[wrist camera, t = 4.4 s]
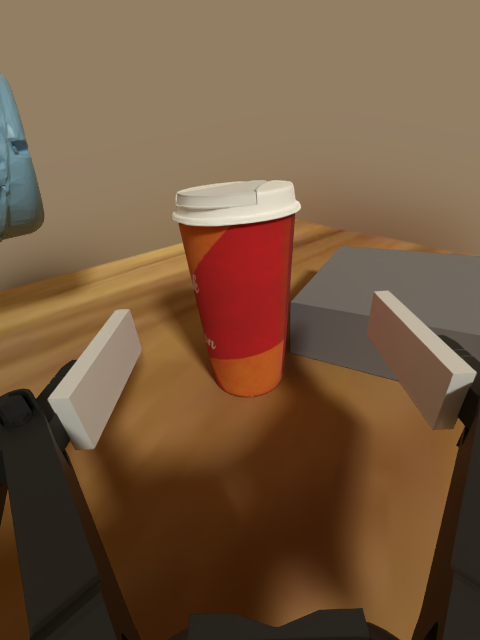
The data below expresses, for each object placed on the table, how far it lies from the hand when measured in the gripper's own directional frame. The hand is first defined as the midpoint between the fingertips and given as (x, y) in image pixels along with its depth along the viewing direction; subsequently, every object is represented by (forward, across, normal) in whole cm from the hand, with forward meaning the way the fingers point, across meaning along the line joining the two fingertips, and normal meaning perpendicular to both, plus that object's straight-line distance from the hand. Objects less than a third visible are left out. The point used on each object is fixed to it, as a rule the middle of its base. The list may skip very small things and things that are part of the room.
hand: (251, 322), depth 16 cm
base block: (+10, +14, -8) cm, 19 cm away
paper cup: (+5, 0, -8) cm, 9 cm away
